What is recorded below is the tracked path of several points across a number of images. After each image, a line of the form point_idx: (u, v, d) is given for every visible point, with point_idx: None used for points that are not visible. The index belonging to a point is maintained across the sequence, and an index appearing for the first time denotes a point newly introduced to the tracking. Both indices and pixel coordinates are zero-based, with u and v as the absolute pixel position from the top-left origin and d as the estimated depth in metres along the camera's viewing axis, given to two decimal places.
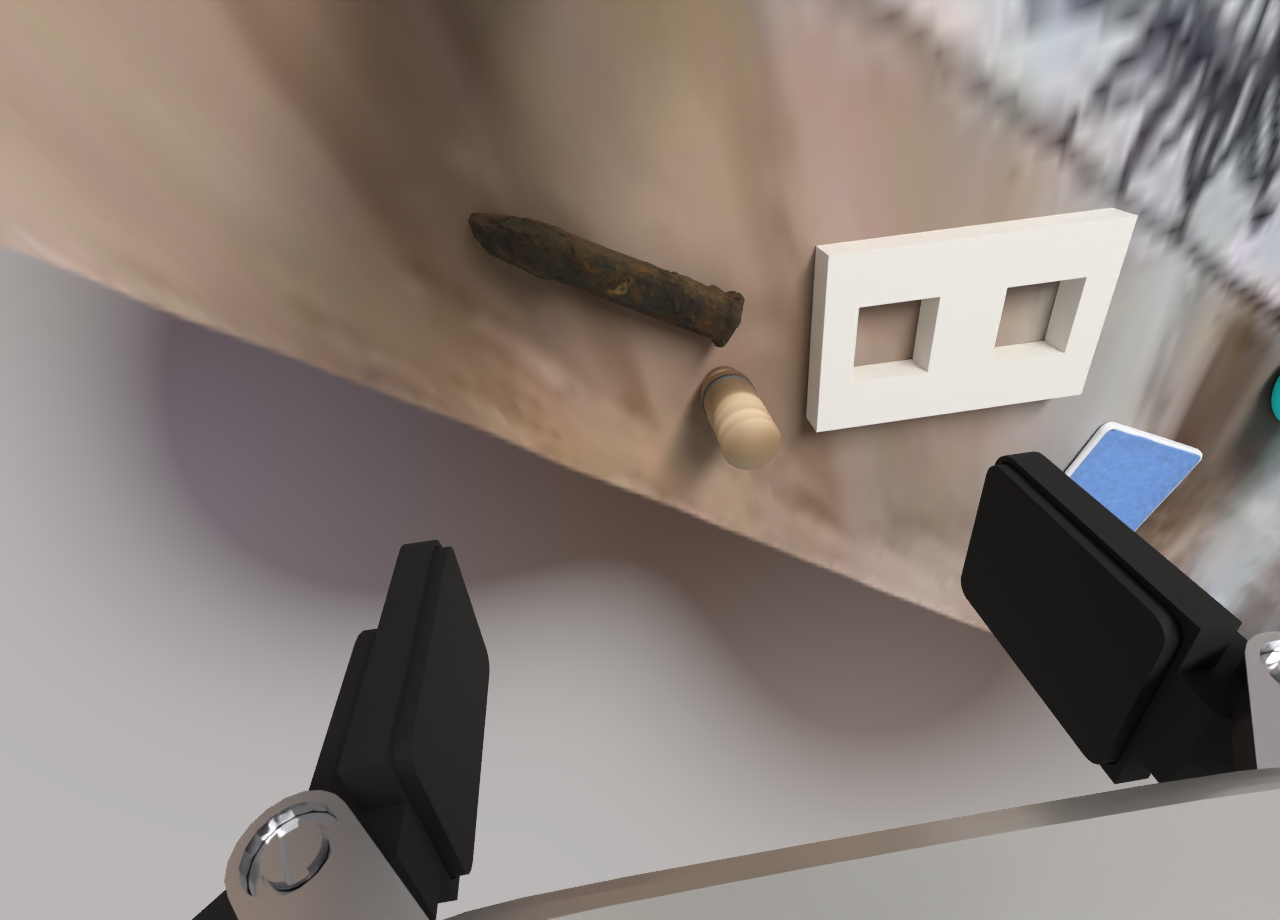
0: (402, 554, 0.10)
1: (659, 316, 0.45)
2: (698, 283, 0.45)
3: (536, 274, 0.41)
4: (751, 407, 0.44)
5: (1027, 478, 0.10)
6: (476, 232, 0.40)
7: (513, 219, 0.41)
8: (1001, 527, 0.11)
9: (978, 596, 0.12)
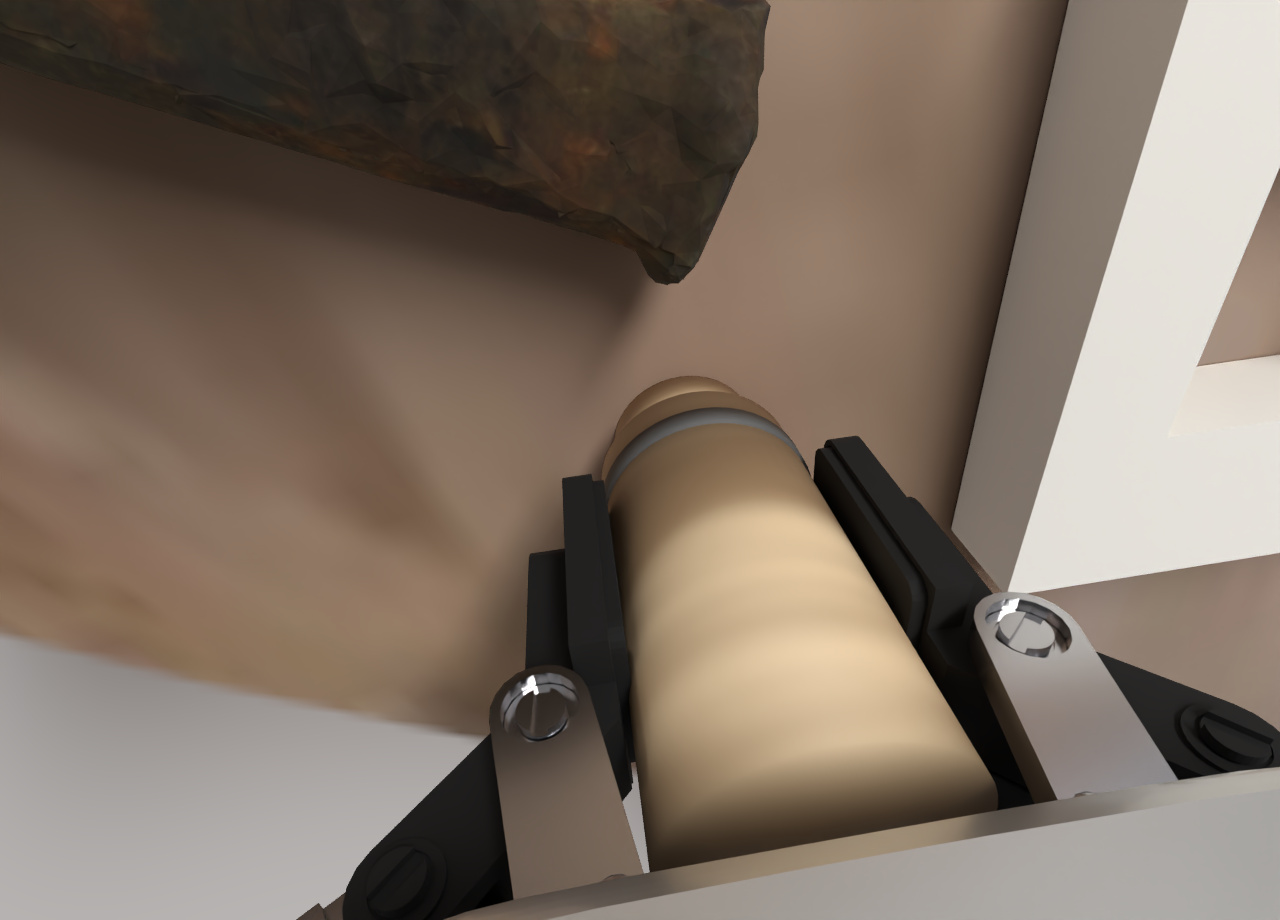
0: (566, 485, 0.11)
1: (314, 141, 0.08)
2: None
3: None
4: (822, 620, 0.08)
5: (844, 460, 0.11)
6: None
7: None
8: None
9: None
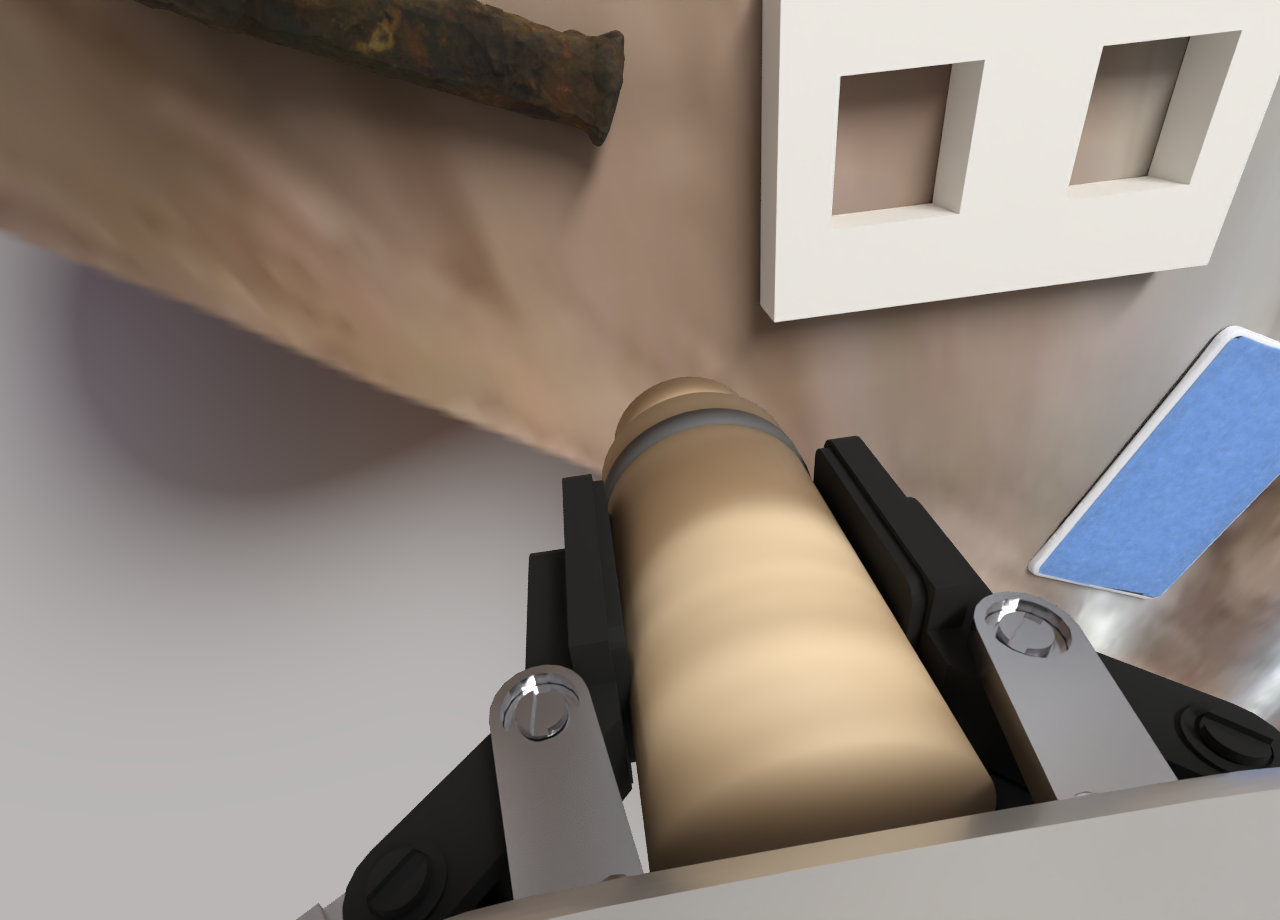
0: (566, 485, 0.11)
1: (472, 92, 0.24)
2: (539, 25, 0.25)
3: (198, 16, 0.21)
4: (821, 620, 0.08)
5: (844, 460, 0.11)
6: None
7: None
8: None
9: None
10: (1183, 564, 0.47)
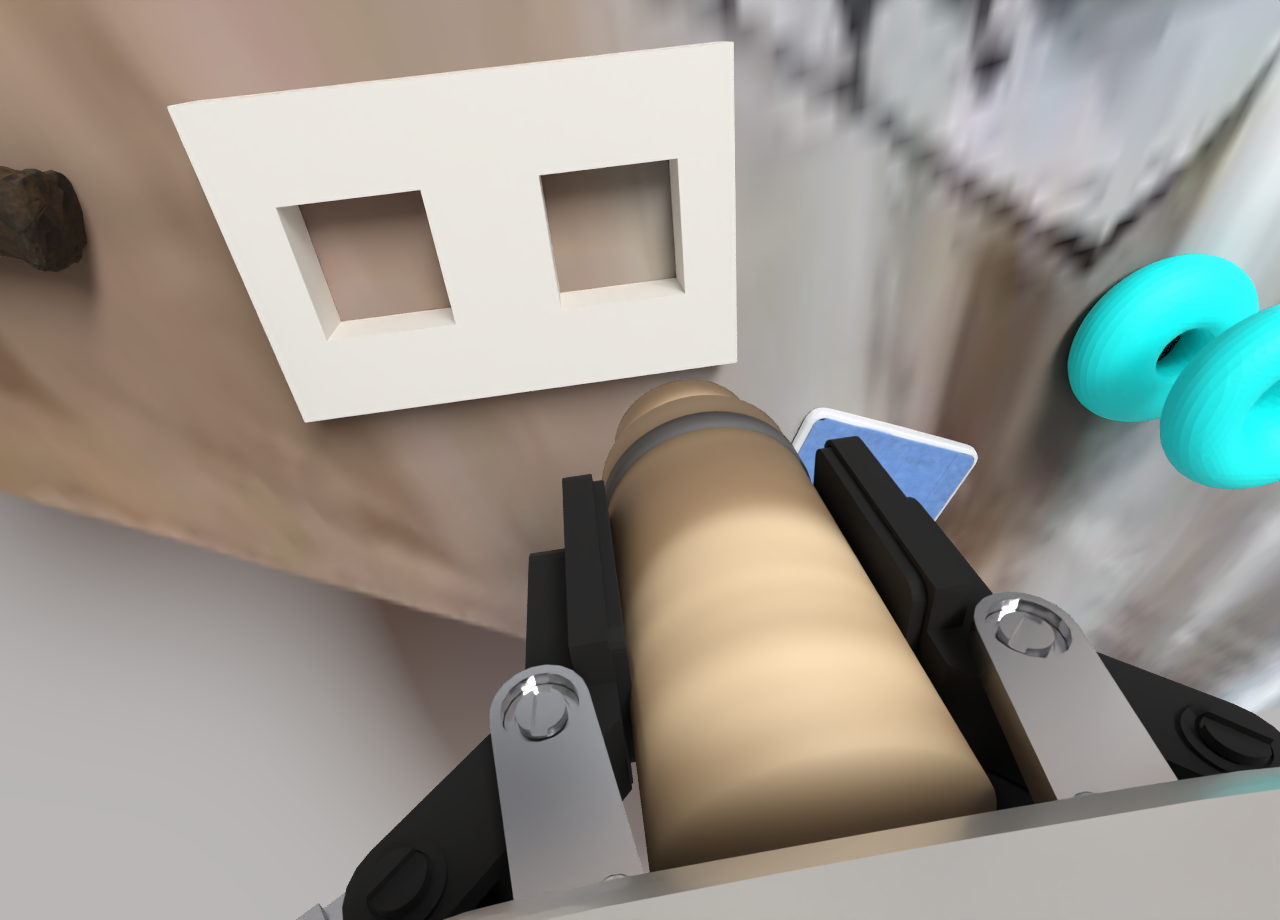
0: (566, 485, 0.11)
1: None
2: None
3: None
4: (821, 625, 0.08)
5: (844, 460, 0.11)
6: None
7: None
8: (826, 506, 0.12)
9: None
10: None
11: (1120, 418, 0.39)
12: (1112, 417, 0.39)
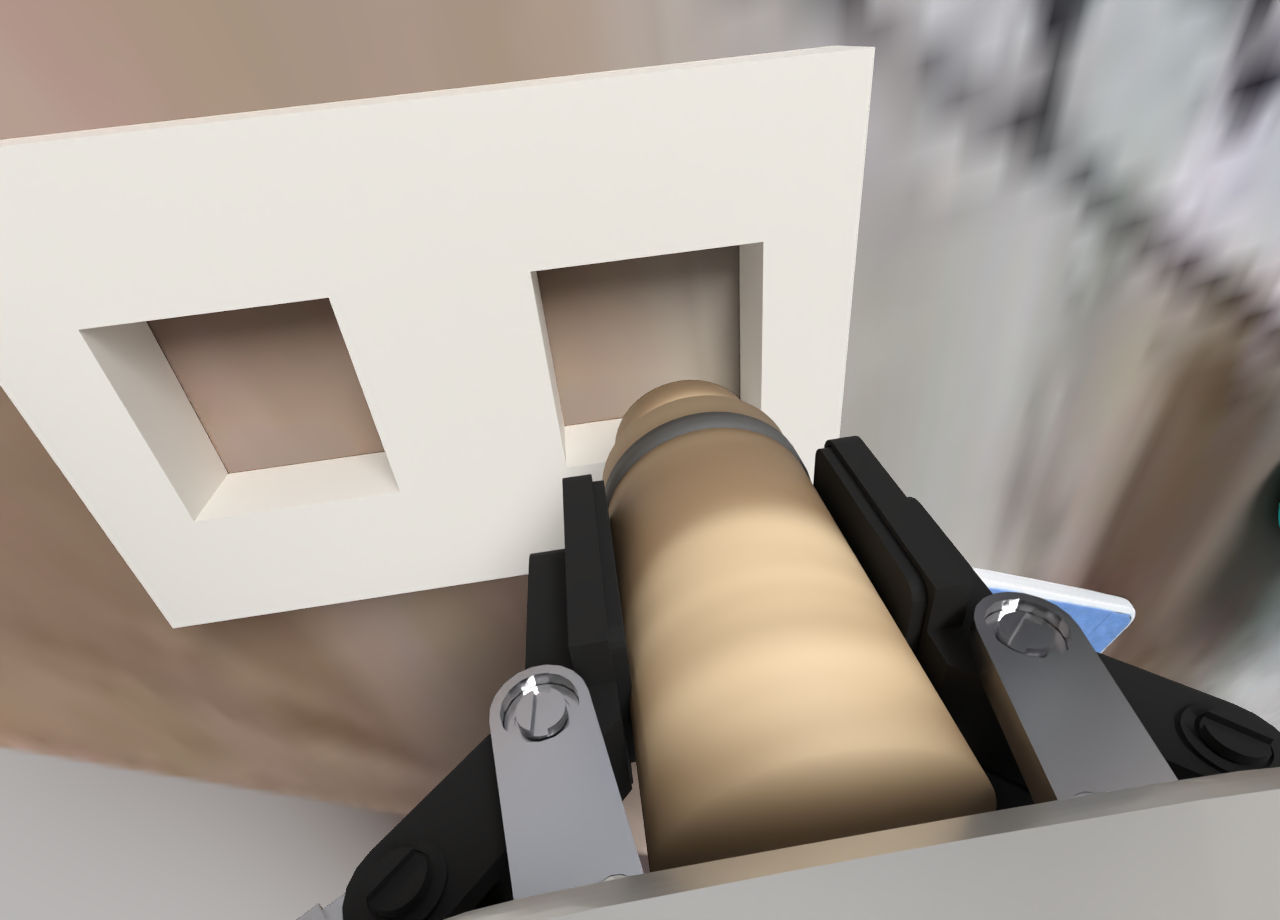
0: (566, 485, 0.11)
1: None
2: None
3: None
4: (822, 626, 0.08)
5: (844, 460, 0.11)
6: None
7: None
8: None
9: None
10: None
11: None
12: None
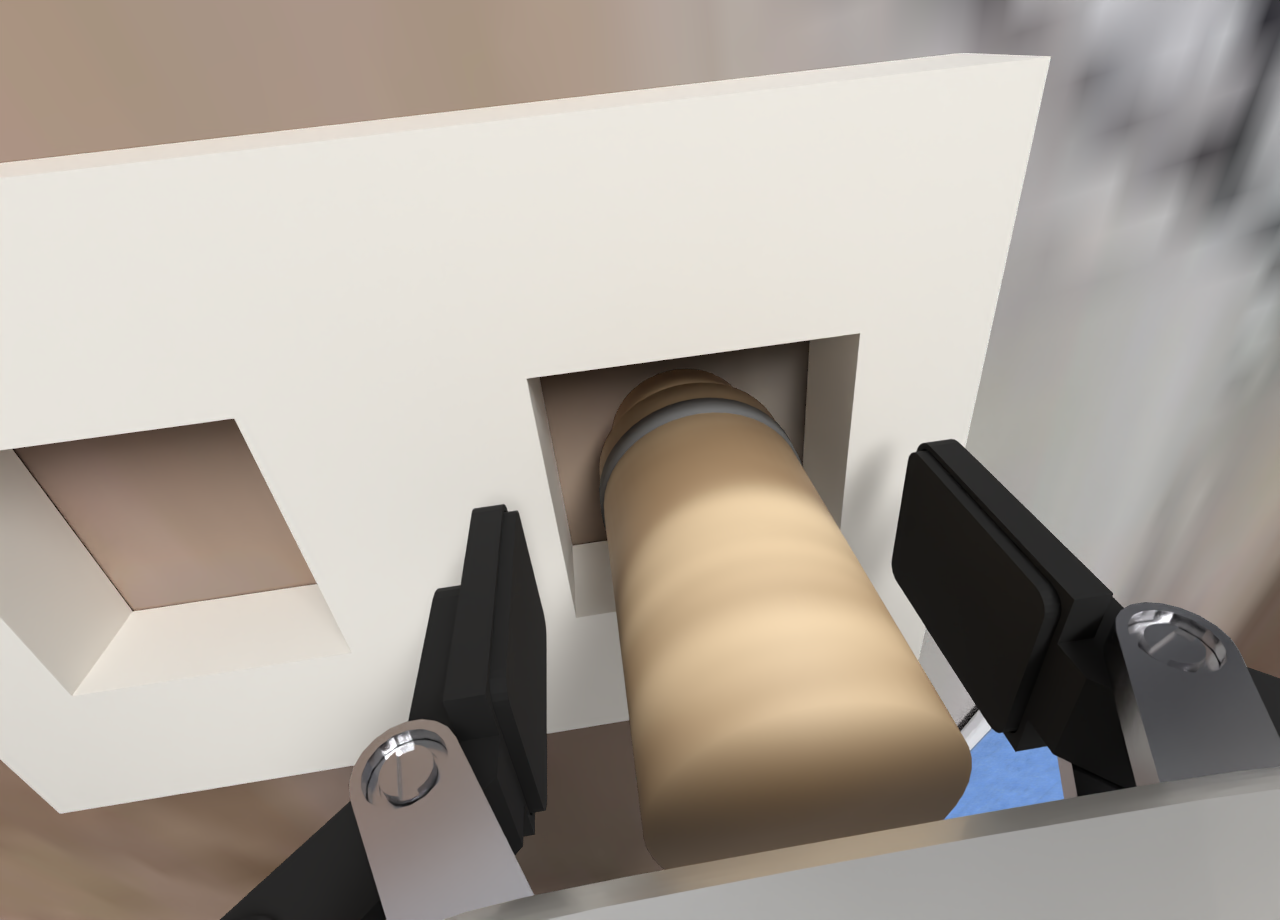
0: (474, 516, 0.11)
1: None
2: None
3: None
4: (807, 594, 0.08)
5: (943, 464, 0.11)
6: None
7: None
8: (920, 511, 0.11)
9: (905, 578, 0.12)
10: None
11: None
12: None
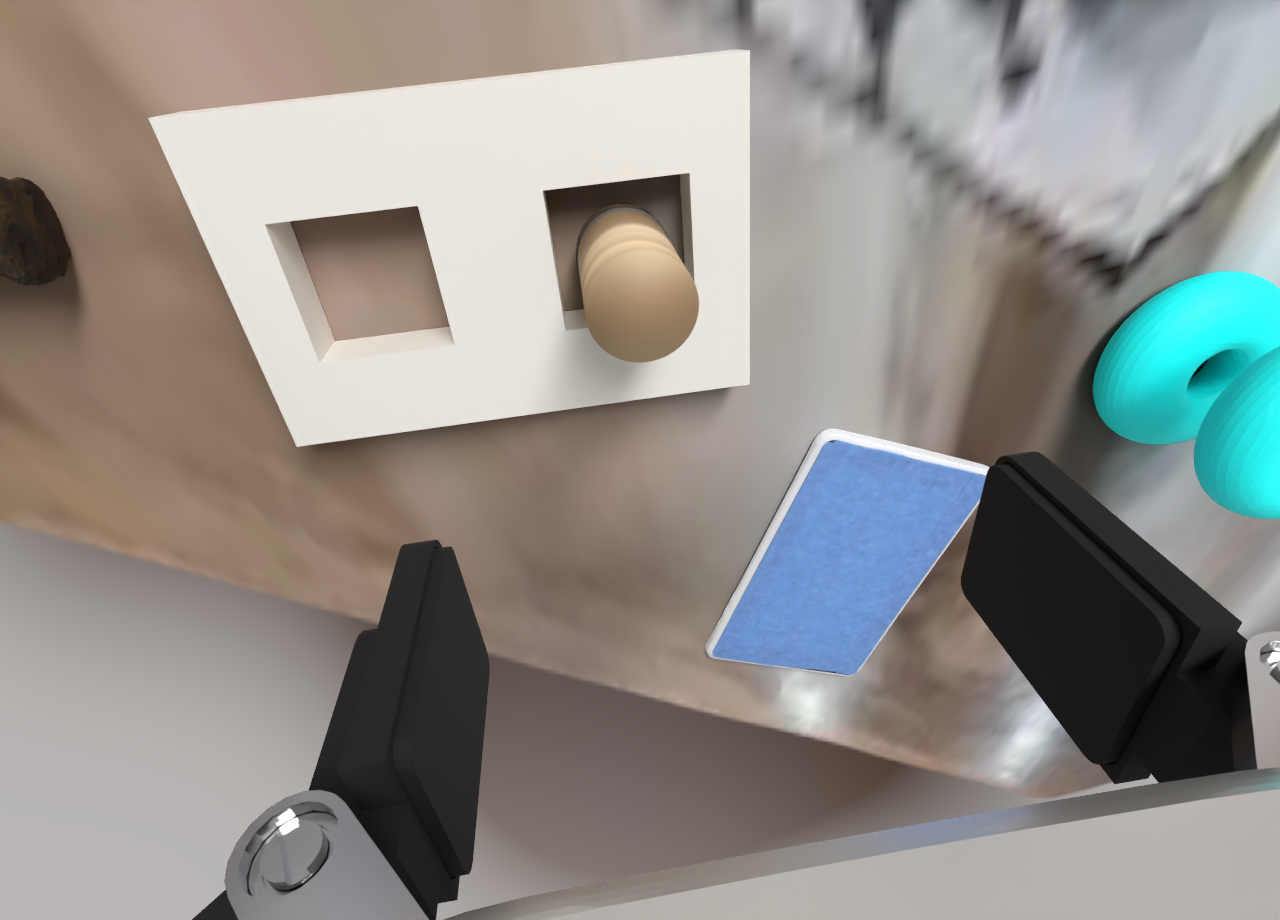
0: (402, 554, 0.10)
1: None
2: None
3: None
4: (643, 239, 0.23)
5: (1028, 478, 0.10)
6: None
7: None
8: (1001, 527, 0.11)
9: (978, 596, 0.12)
10: (867, 644, 0.47)
11: (1148, 441, 0.37)
12: (1139, 440, 0.37)
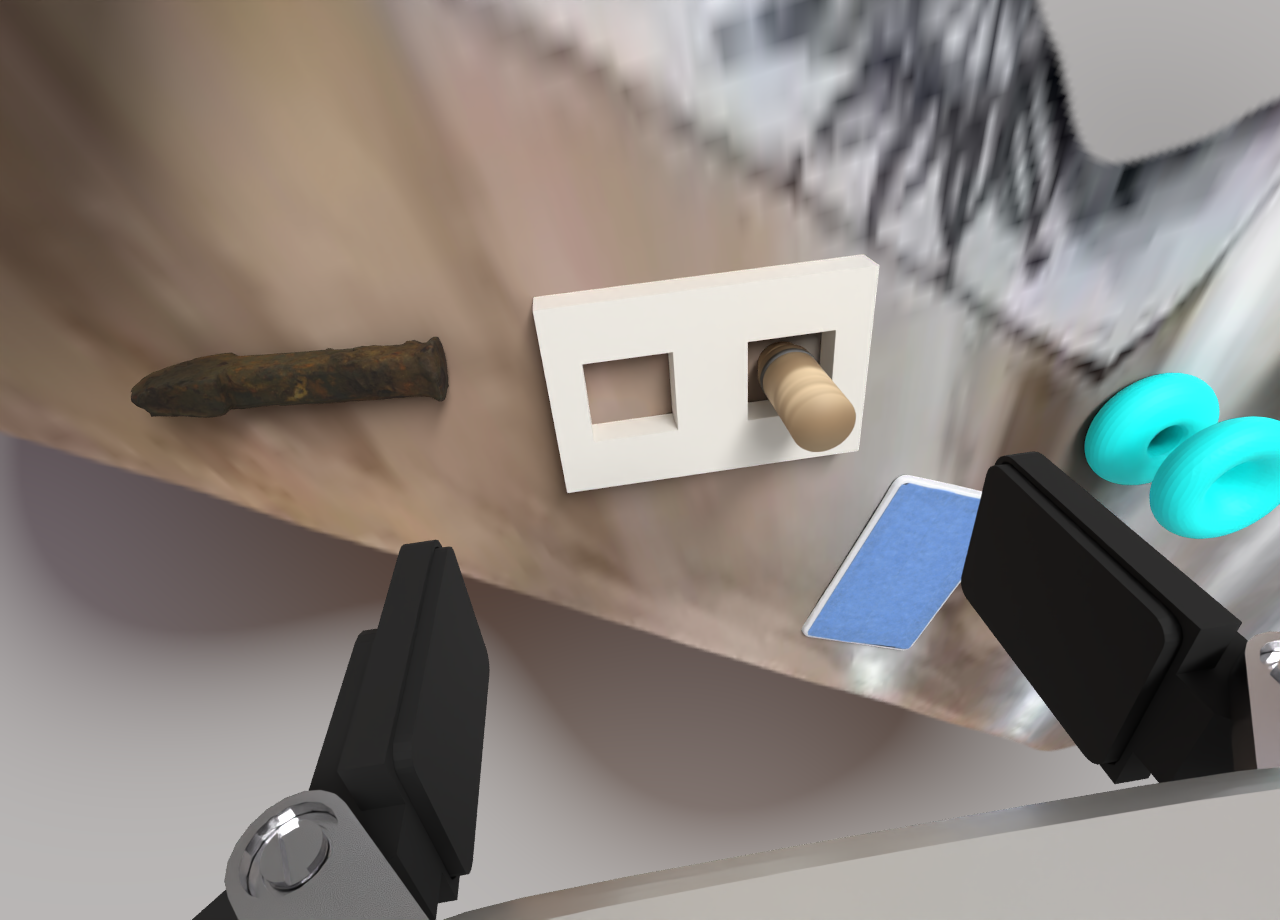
0: (402, 554, 0.10)
1: (358, 399, 0.41)
2: (387, 347, 0.41)
3: (205, 416, 0.40)
4: (823, 382, 0.40)
5: (1028, 478, 0.10)
6: None
7: (170, 369, 0.40)
8: (1001, 527, 0.11)
9: (978, 596, 0.12)
10: (919, 626, 0.64)
11: (1122, 483, 0.54)
12: (1116, 482, 0.54)
